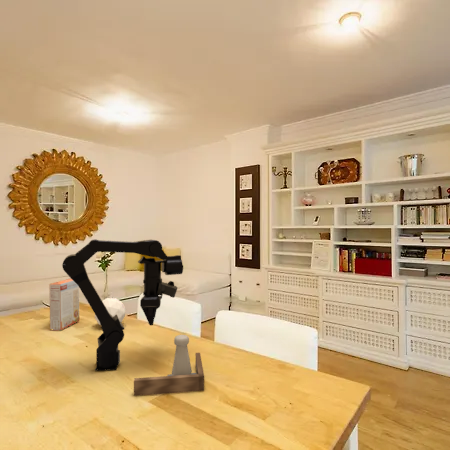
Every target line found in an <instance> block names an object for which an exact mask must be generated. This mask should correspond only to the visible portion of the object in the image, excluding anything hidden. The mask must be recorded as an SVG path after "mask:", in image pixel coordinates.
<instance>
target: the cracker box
mask: <svg viewBox="0 0 450 450" xmlns="http://www.w3.org/2000/svg"><path fill="white" fill-rule="evenodd" d="M48 285H49V287H48V288H49V330H50V329H53V330H52V331H58V330H62V329H63V330H65V329H67V328H69V327H71V326H73V325H75V324H77V323H79V322H80V288H79V286H78V285H77V284H76V283H75V282H74V281H73V280H72V279H71V278H68V279H67V278H66V279H63V280H58V281H56V282H52V283H49V284H48ZM78 321H79V322H78ZM76 322H77V323H76ZM74 323H75V324H74ZM72 324H73V325H72ZM70 325H71V326H70ZM68 326H69V327H68ZM66 327H67V328H66ZM64 328H65V329H64ZM63 330H62V331H63Z"/></svg>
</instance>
